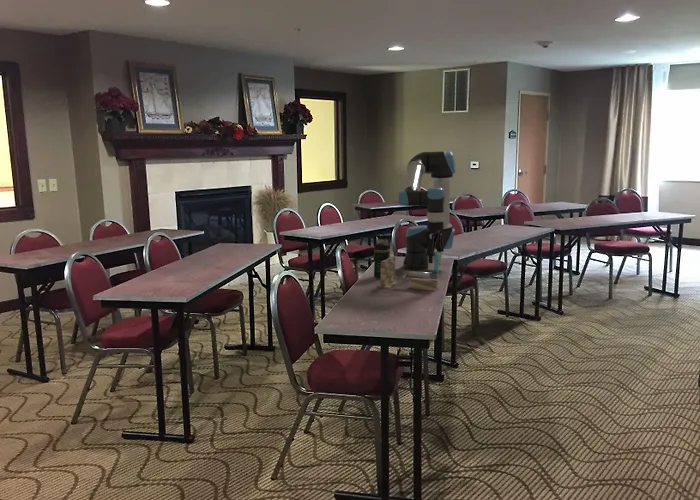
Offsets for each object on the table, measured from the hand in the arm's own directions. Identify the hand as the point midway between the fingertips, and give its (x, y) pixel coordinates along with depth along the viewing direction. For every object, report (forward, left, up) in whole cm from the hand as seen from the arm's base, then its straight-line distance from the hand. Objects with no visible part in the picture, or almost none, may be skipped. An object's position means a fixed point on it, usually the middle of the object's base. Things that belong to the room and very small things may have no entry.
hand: (434, 267), depth 275 cm
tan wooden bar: (0, -6, -11) cm, 12 cm away
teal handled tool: (0, -7, -6) cm, 9 cm away
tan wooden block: (0, -24, -11) cm, 26 cm away
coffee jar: (-16, -34, -11) cm, 39 cm away
